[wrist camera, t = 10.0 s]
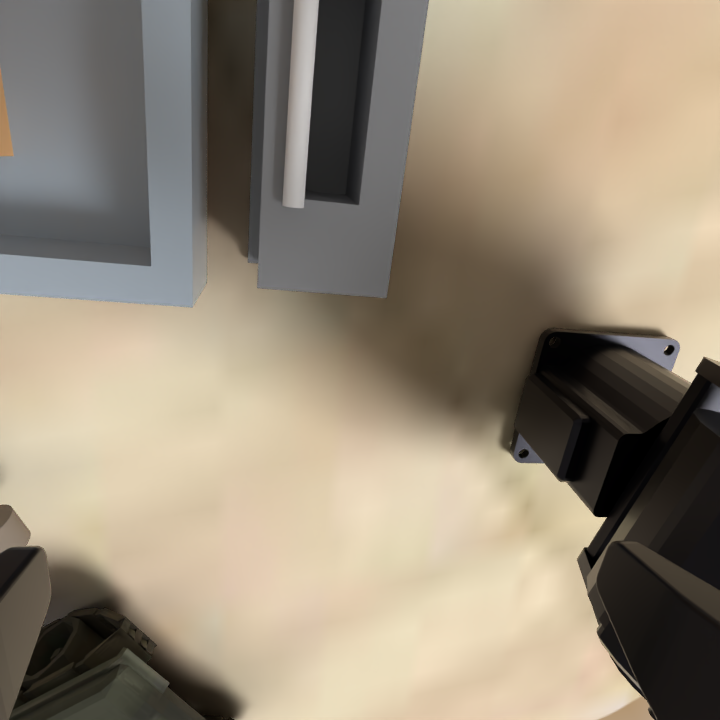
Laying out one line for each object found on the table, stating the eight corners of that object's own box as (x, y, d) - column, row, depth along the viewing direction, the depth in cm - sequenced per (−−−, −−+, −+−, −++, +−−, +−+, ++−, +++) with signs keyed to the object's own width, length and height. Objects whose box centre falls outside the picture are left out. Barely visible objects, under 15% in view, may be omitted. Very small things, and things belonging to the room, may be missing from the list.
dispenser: (432, -124, 15) (489, -228, 11) (380, 271, 20) (406, 304, 15) (263, -163, 14) (254, -292, 10) (248, 259, 19) (238, 292, 14)
